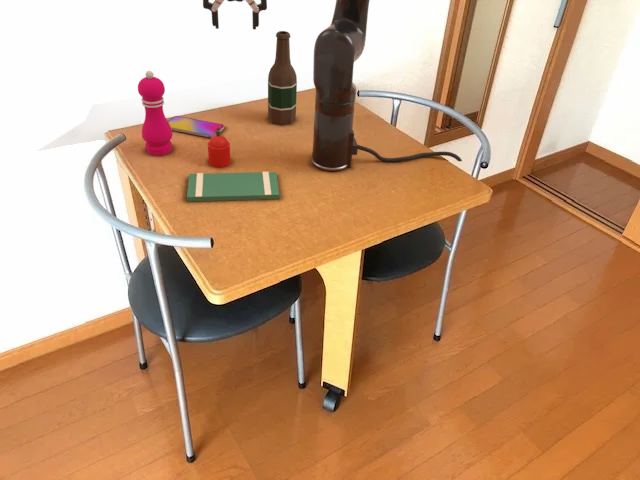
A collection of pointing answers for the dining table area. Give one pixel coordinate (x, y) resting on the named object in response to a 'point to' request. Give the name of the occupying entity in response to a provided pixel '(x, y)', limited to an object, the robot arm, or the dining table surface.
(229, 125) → the dining table surface
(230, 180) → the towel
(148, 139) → the pepper mill
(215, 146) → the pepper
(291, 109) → the beer bottle
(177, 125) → the smartphone
